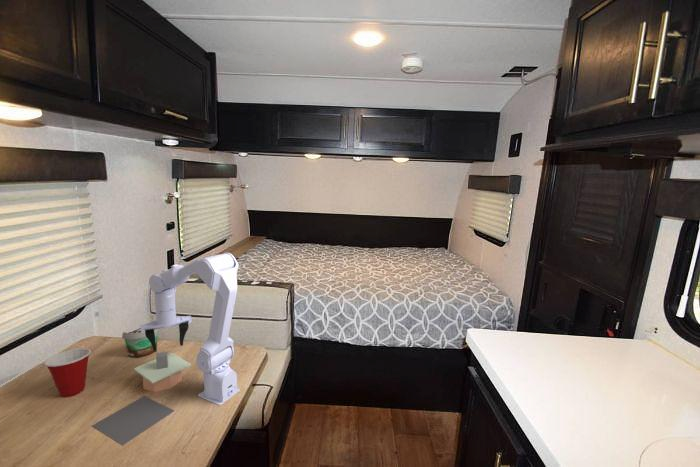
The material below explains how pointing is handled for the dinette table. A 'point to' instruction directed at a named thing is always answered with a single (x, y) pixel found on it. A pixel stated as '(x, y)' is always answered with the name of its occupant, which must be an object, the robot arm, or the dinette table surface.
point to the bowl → (163, 382)
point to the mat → (132, 420)
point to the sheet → (161, 372)
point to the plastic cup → (69, 370)
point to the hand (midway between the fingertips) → (168, 347)
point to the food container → (138, 343)
